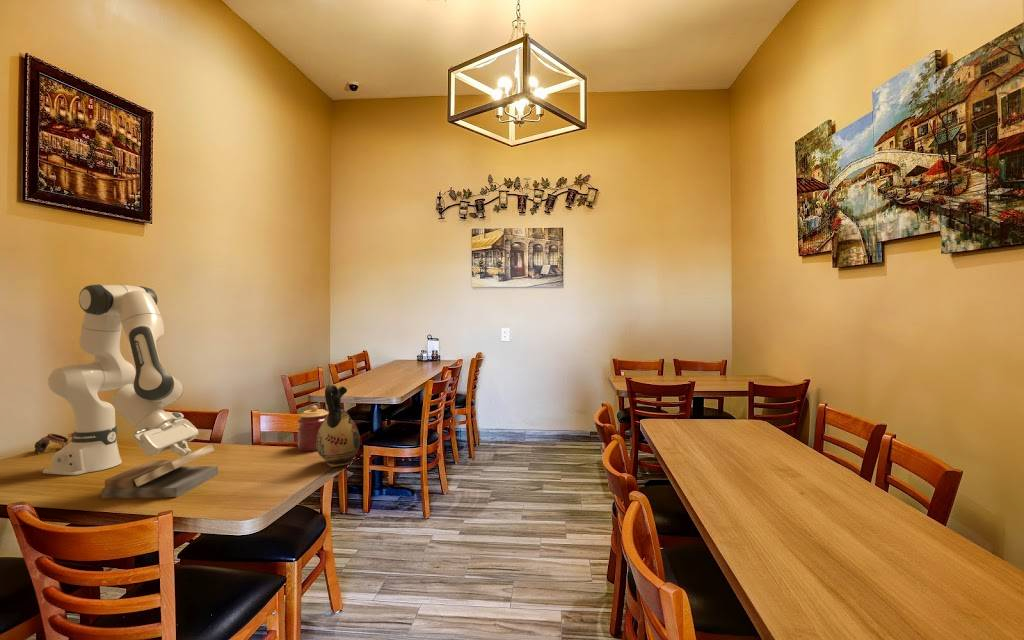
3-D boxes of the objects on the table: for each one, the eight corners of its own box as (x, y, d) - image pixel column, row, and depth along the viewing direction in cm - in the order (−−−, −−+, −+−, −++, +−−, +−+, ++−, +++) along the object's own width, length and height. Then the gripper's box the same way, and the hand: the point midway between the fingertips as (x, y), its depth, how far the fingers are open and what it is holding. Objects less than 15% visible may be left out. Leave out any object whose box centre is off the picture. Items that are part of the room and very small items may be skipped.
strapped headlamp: (41, 450, 196) (54, 432, 198) (63, 459, 197) (76, 440, 200) (20, 451, 184) (34, 431, 187) (44, 460, 186) (58, 440, 188)
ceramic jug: (329, 456, 181) (328, 380, 181) (367, 457, 180) (365, 380, 179) (305, 471, 164) (304, 387, 164) (347, 472, 163) (345, 387, 162)
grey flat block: (102, 498, 142) (101, 480, 142) (152, 475, 162) (152, 459, 162) (176, 497, 142) (176, 479, 142) (217, 474, 162) (217, 458, 162)
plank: (137, 486, 142) (133, 479, 142) (181, 466, 161) (178, 459, 161) (175, 468, 142) (171, 461, 142) (214, 450, 161) (211, 444, 161)
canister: (326, 441, 203) (325, 401, 203) (335, 447, 193) (334, 405, 193) (294, 446, 195) (293, 405, 195) (302, 453, 185) (301, 410, 185)
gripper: (137, 426, 141) (170, 457, 141) (184, 411, 162) (213, 438, 162) (123, 440, 141) (156, 471, 141) (172, 424, 162) (200, 451, 162)
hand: (186, 454), depth 152 cm, fingers closed, pressing on plank
